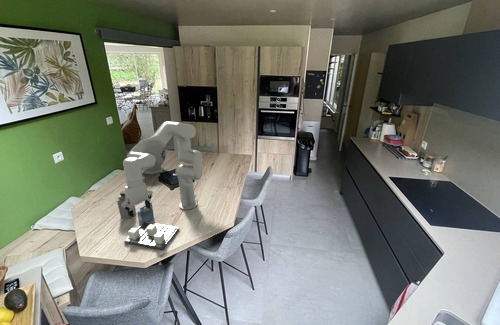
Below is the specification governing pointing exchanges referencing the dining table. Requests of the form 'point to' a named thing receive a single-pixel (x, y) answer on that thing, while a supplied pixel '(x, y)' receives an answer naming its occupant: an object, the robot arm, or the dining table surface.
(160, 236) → the breaker high
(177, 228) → the panel
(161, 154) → the ceramic vase
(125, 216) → the perfume bottle
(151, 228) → the block
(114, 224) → the dining table surface
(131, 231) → the block
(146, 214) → the label tape box
